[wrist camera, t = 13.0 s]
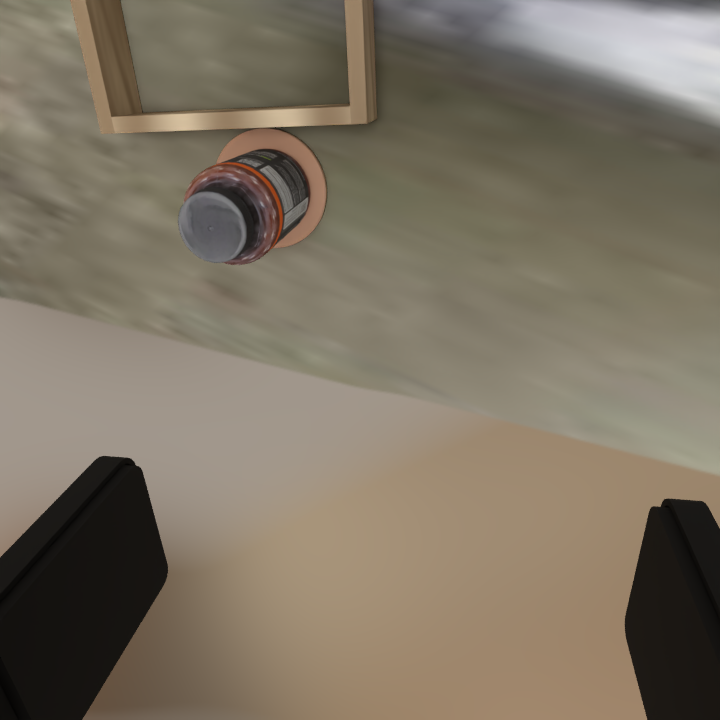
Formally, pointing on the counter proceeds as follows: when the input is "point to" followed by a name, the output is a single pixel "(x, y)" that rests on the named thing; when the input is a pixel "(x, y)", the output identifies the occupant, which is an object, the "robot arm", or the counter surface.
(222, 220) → the supplement bottle
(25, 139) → the counter surface
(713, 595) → the robot arm
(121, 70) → the frame
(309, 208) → the saucer
